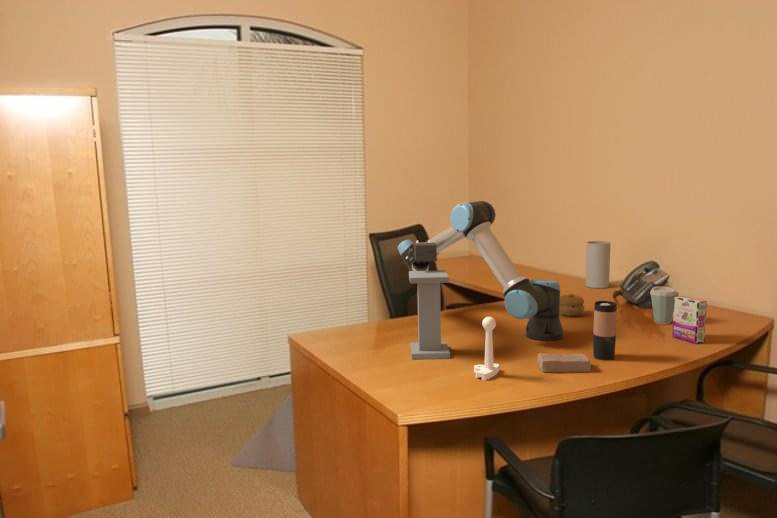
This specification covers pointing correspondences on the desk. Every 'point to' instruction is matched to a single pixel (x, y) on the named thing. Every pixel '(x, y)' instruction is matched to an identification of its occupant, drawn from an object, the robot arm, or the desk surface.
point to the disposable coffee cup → (663, 304)
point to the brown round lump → (571, 305)
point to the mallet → (425, 251)
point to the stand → (429, 315)
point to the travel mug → (604, 330)
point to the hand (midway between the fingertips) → (423, 243)
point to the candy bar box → (689, 319)
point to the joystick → (487, 353)
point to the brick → (563, 363)
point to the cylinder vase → (597, 264)
